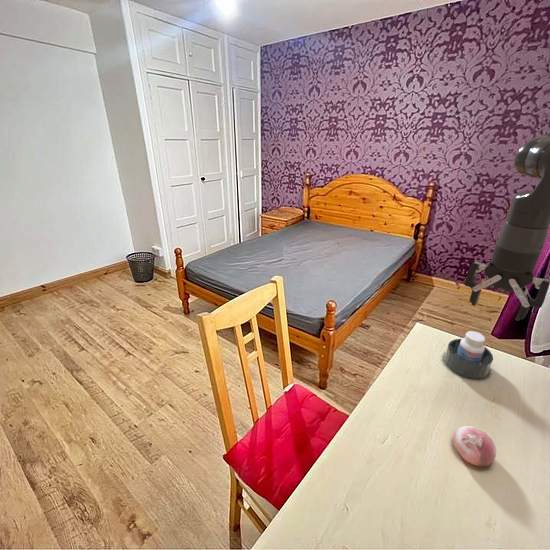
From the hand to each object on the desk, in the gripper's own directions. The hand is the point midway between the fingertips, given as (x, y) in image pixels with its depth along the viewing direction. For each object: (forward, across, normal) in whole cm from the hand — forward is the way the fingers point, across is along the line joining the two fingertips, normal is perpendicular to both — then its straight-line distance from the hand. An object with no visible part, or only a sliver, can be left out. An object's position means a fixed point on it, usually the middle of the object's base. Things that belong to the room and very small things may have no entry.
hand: (494, 311), depth 69 cm
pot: (+27, +4, -11) cm, 30 cm away
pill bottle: (+27, +4, -11) cm, 29 cm away
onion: (+27, -6, +16) cm, 32 cm away
